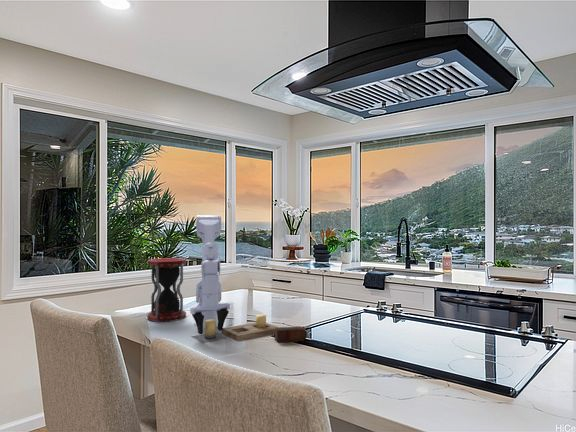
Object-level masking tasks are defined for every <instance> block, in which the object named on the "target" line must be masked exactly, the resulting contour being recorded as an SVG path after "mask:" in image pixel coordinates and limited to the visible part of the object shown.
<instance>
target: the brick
mask: <svg viewBox="0 0 576 432" xmlns="http://www.w3.org/2000/svg"><path fill="white" fill-rule="evenodd" d="M307 334H308V331H307V329H306V328H305V327H304V326H287V327H285V326H284V327H282V326H281V327H279V328H275V334H274V341H275V342H276V343H282V344H289V343H299V342H298V341H300V340H305V339H307V337H308V335H307ZM305 341H306V340H305Z"/></svg>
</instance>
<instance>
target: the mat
mask: <svg viewBox="0 0 576 432" xmlns="http://www.w3.org/2000/svg"><path fill="white" fill-rule="evenodd" d="M190 337H191V338H193V339H194V340H196V341H198V342H200V343H201V344H205V343H211V342H217V341H221V340H226V339H229V336H227V335H225V334H222V333H219V332H217V331H216V338H214V339H205V333H203V334H197V335H191V336H190Z"/></svg>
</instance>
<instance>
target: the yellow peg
mask: <svg viewBox="0 0 576 432" xmlns="http://www.w3.org/2000/svg"><path fill="white" fill-rule="evenodd" d="M216 332H217V327H216V320H214V319H209V320H205V329H204V334H205V339H214V338H216Z"/></svg>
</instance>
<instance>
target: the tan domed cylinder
mask: <svg viewBox="0 0 576 432" xmlns="http://www.w3.org/2000/svg"><path fill="white" fill-rule="evenodd" d="M255 322H256V328H258V329H260V328H266V323H267V315H266V314H257V315H255Z"/></svg>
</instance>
